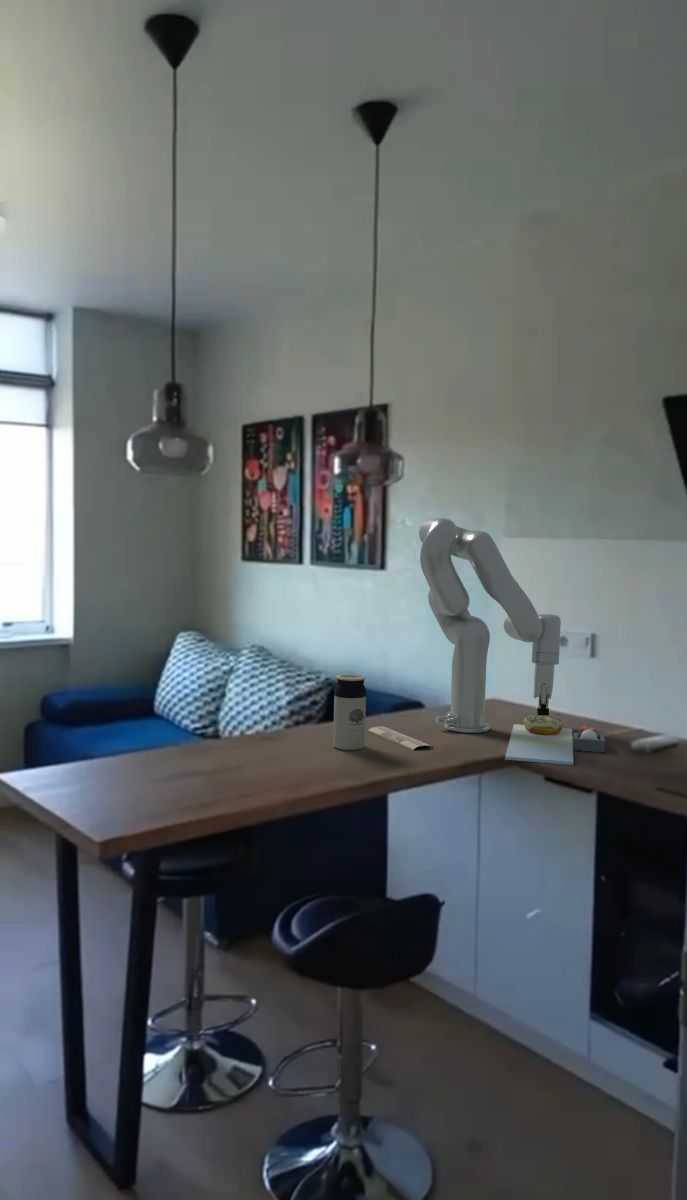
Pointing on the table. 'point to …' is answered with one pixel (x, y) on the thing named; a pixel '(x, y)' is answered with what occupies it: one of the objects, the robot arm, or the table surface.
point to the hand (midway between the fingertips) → (542, 721)
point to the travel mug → (349, 712)
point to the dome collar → (589, 743)
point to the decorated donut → (543, 724)
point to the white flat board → (540, 746)
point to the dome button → (589, 734)
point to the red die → (587, 728)
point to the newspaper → (398, 737)
